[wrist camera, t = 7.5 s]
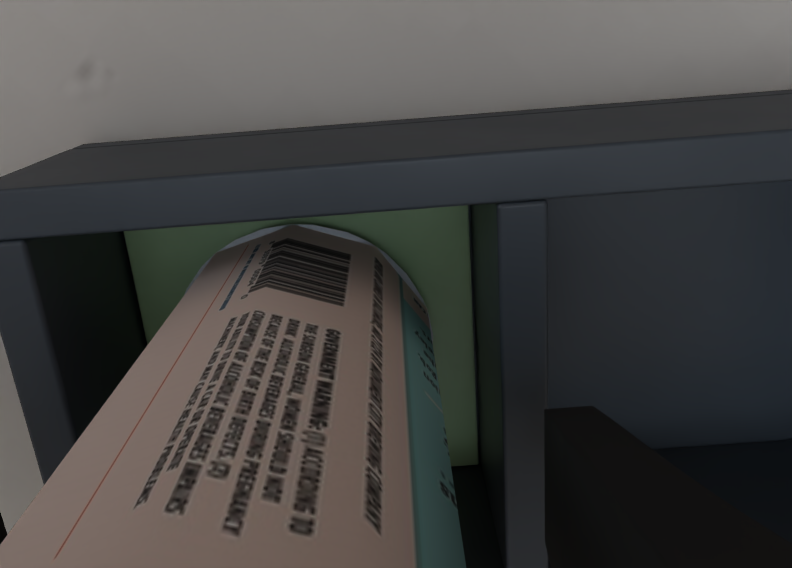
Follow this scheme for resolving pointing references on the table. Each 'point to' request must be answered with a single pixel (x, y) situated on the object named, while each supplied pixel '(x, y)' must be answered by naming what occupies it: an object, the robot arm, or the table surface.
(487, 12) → the table surface
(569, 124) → the tray
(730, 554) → the robot arm
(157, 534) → the beer can
